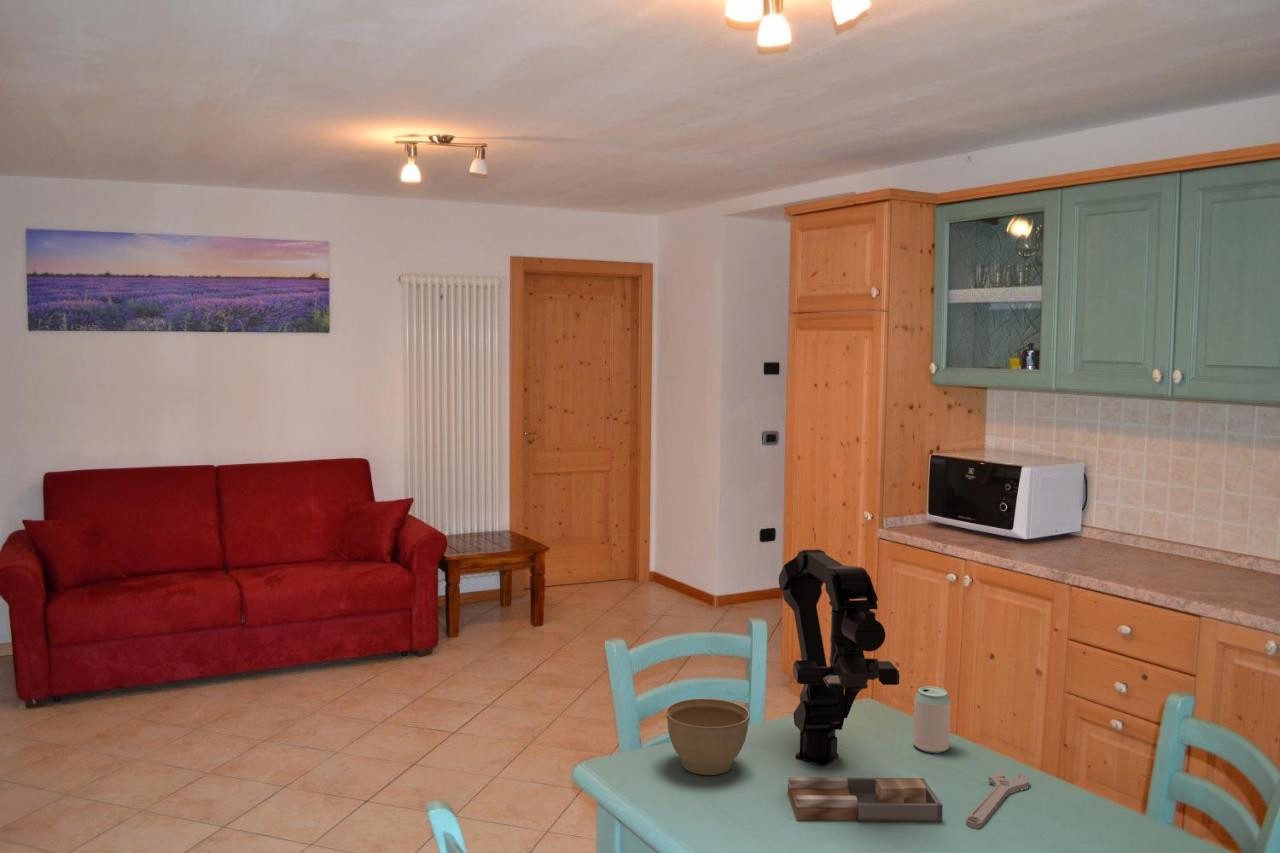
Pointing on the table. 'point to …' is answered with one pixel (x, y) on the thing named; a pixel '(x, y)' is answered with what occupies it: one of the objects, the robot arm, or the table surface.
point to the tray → (892, 804)
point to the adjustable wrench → (995, 797)
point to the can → (932, 720)
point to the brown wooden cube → (889, 791)
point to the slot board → (822, 798)
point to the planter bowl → (707, 733)
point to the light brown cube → (913, 790)
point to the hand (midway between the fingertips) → (844, 717)
